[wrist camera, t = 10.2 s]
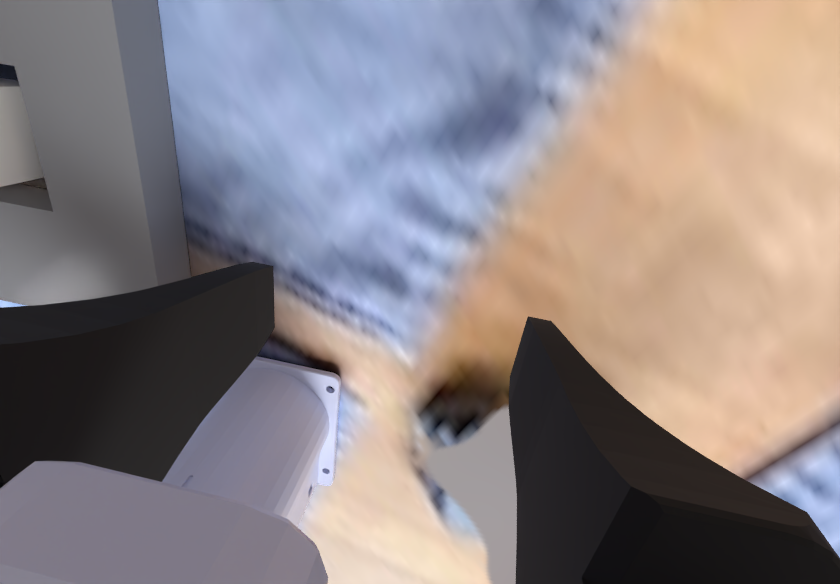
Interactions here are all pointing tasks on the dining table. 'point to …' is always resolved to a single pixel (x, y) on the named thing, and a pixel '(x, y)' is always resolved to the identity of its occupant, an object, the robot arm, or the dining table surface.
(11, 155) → the plug
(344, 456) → the dining table surface
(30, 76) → the socket
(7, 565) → the robot arm
